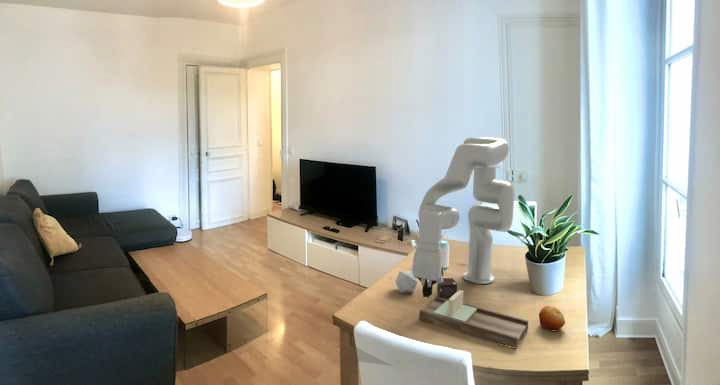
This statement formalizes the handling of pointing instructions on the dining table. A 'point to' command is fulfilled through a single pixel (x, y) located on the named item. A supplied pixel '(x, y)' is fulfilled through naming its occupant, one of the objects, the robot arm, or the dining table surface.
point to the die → (406, 282)
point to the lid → (456, 308)
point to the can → (445, 252)
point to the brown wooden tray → (479, 324)
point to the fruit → (551, 318)
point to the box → (446, 288)
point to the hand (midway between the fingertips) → (427, 295)
